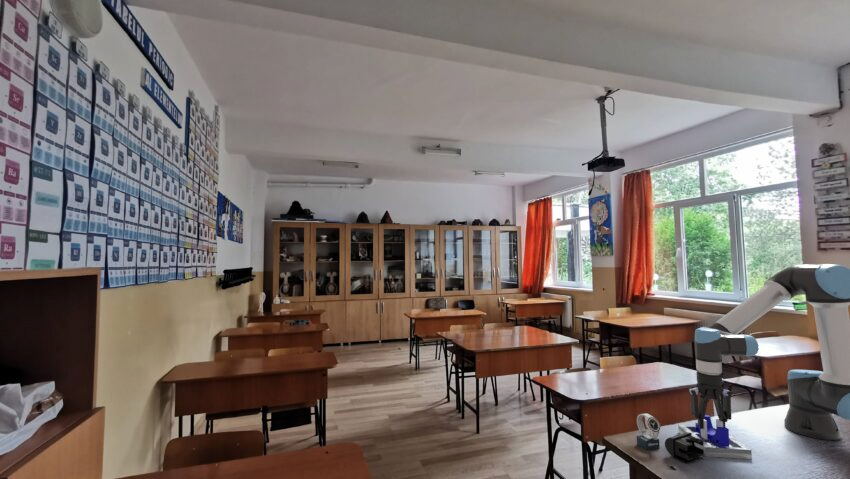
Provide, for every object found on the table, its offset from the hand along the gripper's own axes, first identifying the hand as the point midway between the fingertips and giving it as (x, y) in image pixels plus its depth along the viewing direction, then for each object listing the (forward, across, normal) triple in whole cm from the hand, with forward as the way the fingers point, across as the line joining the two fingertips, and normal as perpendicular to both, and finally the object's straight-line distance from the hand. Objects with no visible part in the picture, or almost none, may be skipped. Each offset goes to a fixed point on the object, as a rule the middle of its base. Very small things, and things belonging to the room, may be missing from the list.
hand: (712, 438), depth 137 cm
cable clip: (0, 0, 0) cm, 0 cm away
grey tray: (+2, 0, 0) cm, 2 cm away
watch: (+3, +23, +4) cm, 24 cm away
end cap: (+3, +14, +10) cm, 17 cm away
